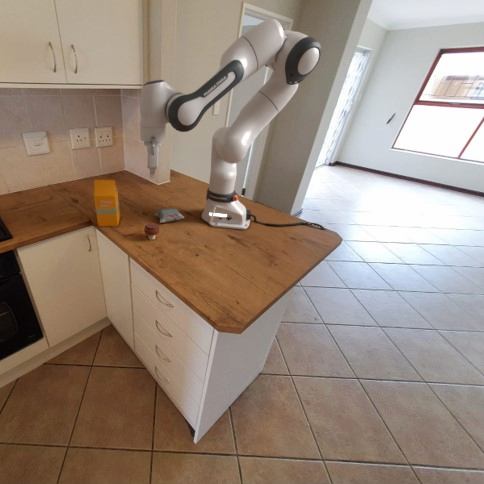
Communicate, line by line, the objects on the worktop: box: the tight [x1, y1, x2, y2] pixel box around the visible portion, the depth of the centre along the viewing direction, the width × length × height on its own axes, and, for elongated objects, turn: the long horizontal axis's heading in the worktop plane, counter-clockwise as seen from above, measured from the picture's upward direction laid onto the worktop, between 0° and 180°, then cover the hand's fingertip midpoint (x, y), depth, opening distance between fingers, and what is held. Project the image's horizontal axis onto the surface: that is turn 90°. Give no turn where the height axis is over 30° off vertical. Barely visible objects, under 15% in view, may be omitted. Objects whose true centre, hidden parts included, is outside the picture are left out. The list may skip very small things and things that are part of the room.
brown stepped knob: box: [143, 222, 160, 241], centre depth 102 cm, size 6×6×6 cm
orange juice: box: [93, 178, 121, 227], centre depth 108 cm, size 8×9×20 cm
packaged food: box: [154, 207, 186, 224], centre depth 115 cm, size 9×12×5 cm
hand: (152, 173), depth 96 cm, fingers open, 8 cm apart
